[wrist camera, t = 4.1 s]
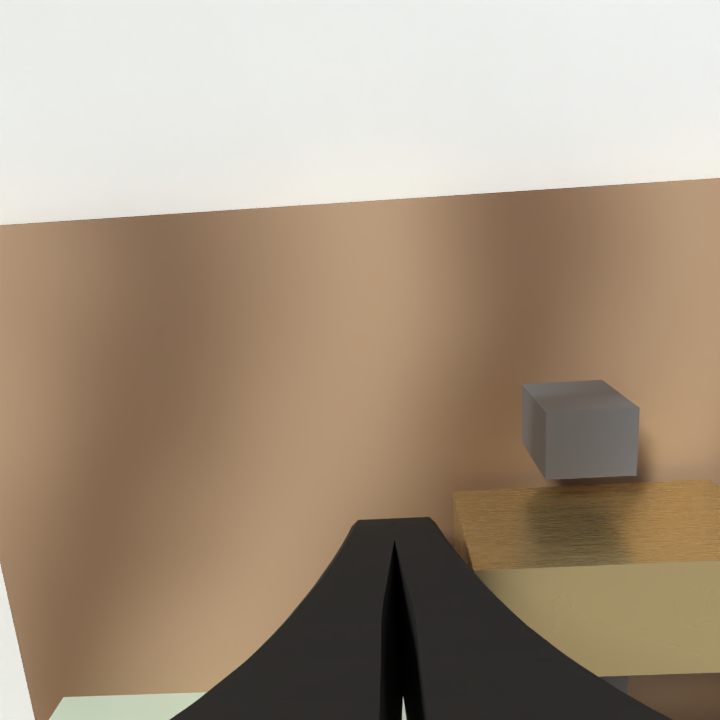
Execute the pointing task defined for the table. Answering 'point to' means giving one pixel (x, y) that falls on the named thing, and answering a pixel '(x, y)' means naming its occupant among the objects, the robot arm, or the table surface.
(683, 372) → the board
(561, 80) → the table surface
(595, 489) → the tan rectangular block
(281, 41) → the table surface
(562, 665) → the robot arm
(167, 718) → the tray
